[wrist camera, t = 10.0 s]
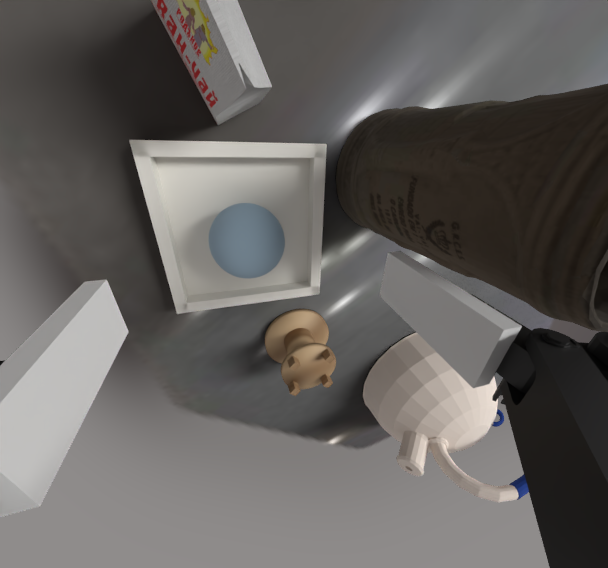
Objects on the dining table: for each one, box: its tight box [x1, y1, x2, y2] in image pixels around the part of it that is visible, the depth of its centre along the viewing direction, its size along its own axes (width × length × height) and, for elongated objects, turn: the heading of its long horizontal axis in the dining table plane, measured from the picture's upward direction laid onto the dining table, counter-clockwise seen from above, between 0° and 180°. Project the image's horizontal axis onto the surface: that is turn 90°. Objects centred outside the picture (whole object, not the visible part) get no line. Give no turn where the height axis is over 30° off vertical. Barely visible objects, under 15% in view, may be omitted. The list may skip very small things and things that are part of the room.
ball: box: [209, 203, 285, 278], centre depth 20 cm, size 6×6×6 cm
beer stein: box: [336, 84, 608, 332], centre depth 17 cm, size 15×11×20 cm
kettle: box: [363, 332, 529, 502], centre depth 35 cm, size 20×21×18 cm
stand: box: [265, 309, 336, 396], centre depth 28 cm, size 8×8×7 cm
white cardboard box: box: [151, 0, 272, 125], centre depth 13 cm, size 4×7×10 cm, turn 25°
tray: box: [129, 140, 327, 314], centre depth 23 cm, size 14×14×2 cm
